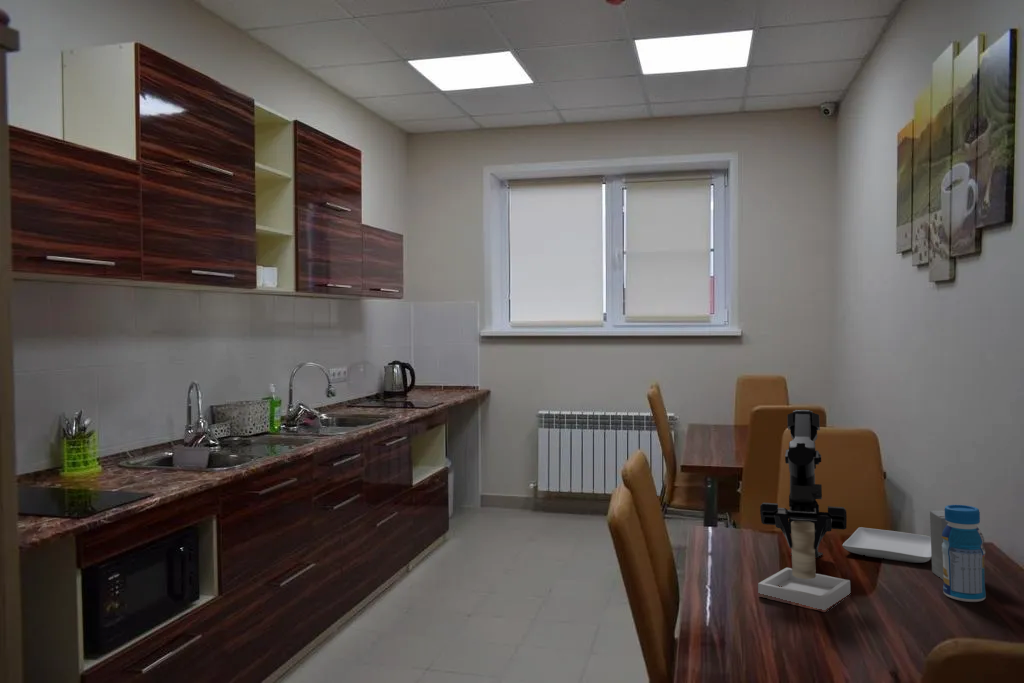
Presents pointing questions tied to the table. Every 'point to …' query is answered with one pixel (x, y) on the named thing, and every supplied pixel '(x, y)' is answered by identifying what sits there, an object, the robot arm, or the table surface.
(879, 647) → the table surface
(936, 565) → the skincare box
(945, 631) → the table surface
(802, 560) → the birch peg
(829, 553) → the table surface
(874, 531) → the salad plate
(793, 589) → the grey bin
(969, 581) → the beverage bottle
